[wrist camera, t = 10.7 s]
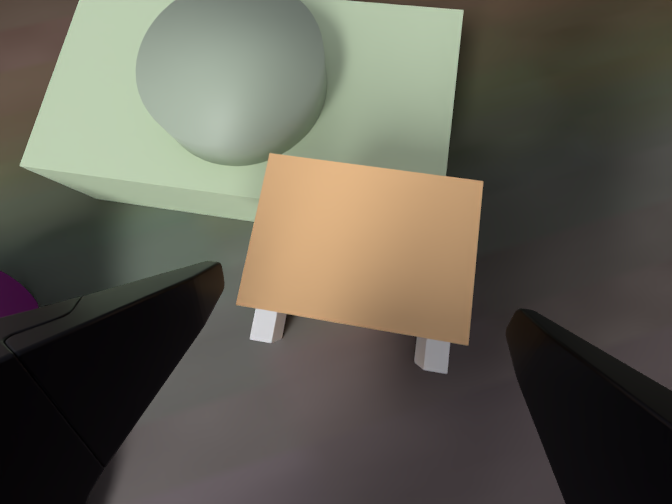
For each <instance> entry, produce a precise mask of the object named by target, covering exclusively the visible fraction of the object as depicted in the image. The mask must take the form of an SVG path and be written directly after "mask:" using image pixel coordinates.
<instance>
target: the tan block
mask: <svg viewBox="0 0 672 504" xmlns="http://www.w3.org/2000/svg"><path fill="white" fill-rule="evenodd" d="M482 191H483V181H478V180H471V179H463V178H455V177H448V176H440V175H433V174H425V173H418V172H410V171H402V170H395V169H387V168H380V167H372V166H364V165H357V164H349V163H342V162H334V161H326V160H319V159H311V158H304V157H296V156H288V155H281V154H273V153H269V158H268V162H267V167H266V171H265V176H264V180H263V185H262V189H261V194H260V198H259V203H258V207H257V212H256V216H255V221H254V225H253V230H252V234H251V239H250V243H249V248H248V252H247V257H246V261H245V266H244V270H243V275H242V279H241V284H240V288H239V293H238V297H237V302H236V305H239V306H245V307H251V308H256V309H262V310H268V311H273V312H279V313H285V314H291V315H296V316H302V317H308V318H313V319H319V320H325V321H330V322H336V323H342V324H348V325H353V326H359V327H365V328H370V329H376V330H382V331H387V332H393V333H399V334H405V335H410V336H416V337H422V338H427V339H433V340H439V341H444V342H450V343H456V344H462V345H467V346H468V344H469V333H470V322H471V311H472V300H473V289H474V278H475V267H476V257H477V246H478V235H479V224H480V213H481V202H482Z"/></svg>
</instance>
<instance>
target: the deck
mask: <svg viewBox="0 0 672 504" xmlns="http://www.w3.org/2000/svg"><path fill="white" fill-rule="evenodd" d="M463 11H464V10H456V9H444V8H432V7H419V6H407V5H395V4H383V3H370V2H358V1H346V0H79V3H78V5H77V8H76V11H75V14H74V16H73V19H72V22H71V25H70V28H69V30H68V33H67V36H66V39H65V41H64V44H63V47H62V50H61V52H60V55H59V58H58V61H57V64H56V66H55V69H54V72H53V75H52V77H51V80H50V83H49V86H48V89H47V91H46V94H45V97H44V100H43V102H42V105H41V108H40V111H39V114H38V116H37V119H36V122H35V125H34V127H33V130H32V133H31V136H30V138H29V141H28V144H27V147H26V150H25V152H24V155H23V158H22V161H21V163H20V166H21V167H23V168H26V169H28V170H30V171H33V172H35V173H37V174H40V175H42V176H44V177H47V178H49V179H51V180H53V181H56V182H58V183H60V184H63V185H65V186H67V187H70V188H72V189H74V190H77V191H79V192H81V193H84V194H86V195H88V196H91V197H93V198H95V199H100V200H107V201H114V202H121V203H128V204H135V205H142V206H149V207H156V208H163V209H170V210H177V211H184V212H191V213H197V214H204V215H211V216H218V217H225V218H232V219H239V220H246V221H253V222H254V221H255V216H256V212H257V207H258V203H259V198H260V194H261V189H262V185H263V180H264V176H265V171H266V167H267V162H268V158H269V153H273V154H281V155H288V156H296V157H304V158H311V159H319V160H326V161H334V162H342V163H349V164H357V165H364V166H372V167H380V168H387V169H395V170H402V171H410V172H418V173H425V174H433V175H440V176H446V170H447V161H448V152H449V142H450V133H451V124H452V114H453V105H454V95H455V86H456V77H457V67H458V58H459V48H460V39H461V30H462V20H463ZM285 320H286V314H285V313H279V312H273V311H268V310H262V309H256V310H255V315H254V320H253V325H252V330H251V335H250V339H251V340H257V341H263V342H268V343H273V342H275V341H278V340H280V339H282V336H283V330H284V325H285ZM449 350H450V342H444V341H439V340H433V339H427V338H422V337H417V340H416V349H415V358H414V362H415V363H416V364H417V365H418V366H419V367H420V368H422V369H423V370H427V371H432V372H438V373H444V374H447V371H448V361H449Z"/></svg>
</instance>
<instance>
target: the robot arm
mask: <svg viewBox="0 0 672 504" xmlns="http://www.w3.org/2000/svg"><path fill="white" fill-rule="evenodd" d="M223 289H224V277H223V271H222V266H221V264H220V263H219V262H214V261H205V262H201V263H198V264H194V265H191V266H187V267H184V268H180V269H177V270H173V271H170V272H166V273H163V274H159V275H156V276H152V277H149V278H145V279H142V280H138V281H134V282H131V283H127V284H124V285H120V286H117V287H113V288H110V289H106V290H103V291H99V292H96V293H92V294H89V295H85V296H83V297H82V298H81V297H77V298H73V299H70V300H66V301H63V302H59V303H55V304H52V305H48V306H44V307H41V308H37V309H33V310H29V311H25V312H21V313H17V314H13V315H9V316H5V317H1V318H0V504H86V502H87V500H88V497H89V495H90V493H91V490H92V488H93V487H94V485H95V483H96V481H97V479H98V478H99V476H100V475H101V473H102V472H103V470H104V467H106V466H107V464H108V463H109V462H110V460H111V459H112V457H113V456H114V454H115V453H116V452H117V450H118V449H119V447H120V446H121V444H122V443H123V442H124V440H125V439H126V437H127V436H128V434H129V433H130V432H131V430H132V429H133V427H134V426H135V424H136V423H137V422H138V420H139V419H140V417H141V416H142V414H143V413H144V412H145V410H146V409H147V407H148V406H149V404H150V403H151V401H152V400H153V399H154V397H155V396H156V394H157V393H158V391H159V390H160V389H161V387H162V386H163V384H164V383H165V381H166V380H167V379H168V377H169V376H170V374H171V373H172V371H173V370H174V369H175V367H176V366H177V364H178V363H179V361H180V360H181V359H182V357H183V356H184V354H185V353H186V351H187V350H188V349H189V347H190V346H191V344H192V343H193V341H194V340H195V339H196V337H197V336H198V334H199V333H200V331H201V330H202V328H203V327H204V325H205V324H206V322H207V320H208V318H209V316H210V314H211V313H212V311H213V309H214V307H215V305H216V303H217V301H218V299H219V298H220V296H221V294H222V292H223ZM506 339H507V343H508V347H509V350H510V354H511V358H512V362H513V366H514V370H515V373H516V377H517V380H518V383H519V385H520V388H521V391H522V393H523V396H524V398H525V401H526V403H527V406H528V409H529V411H530V414H531V416H532V419H533V421H534V424H535V427H536V429H537V432H538V434H539V437H540V439H541V442H542V444H543V447H544V450H545V452H546V455H547V457H548V460H549V462H550V465H551V467H552V470H553V473H554V475H555V478H556V480H557V483H558V485H559V488H560V491H561V493H562V496H563V498H564V501H565V503H566V504H672V391H671V390H669V389H667V388H666V387H664V386H662V385H661V384H659V383H657V382H655V381H654V380H652V379H650V378H649V377H647V376H645V375H643V374H642V373H640V372H638V371H637V370H635V369H633V368H631V367H630V366H628V365H626V364H625V363H623V362H621V361H619V360H618V359H616V358H614V357H613V356H611V355H609V354H607V353H606V352H604V351H602V350H601V349H599V348H597V347H595V346H594V345H592V344H590V343H589V342H587V341H585V340H583V339H582V338H580V337H578V336H577V335H575V334H573V333H571V332H570V331H568V330H566V329H565V328H563V327H561V326H559V325H558V324H556V323H554V322H553V321H551V320H549V319H547V318H546V317H544V316H542V315H541V314H539V313H537V312H535V311H533V310H528V309H522V308H520V309H517V310H516V312H515V313H514V315H513V317H512V319H511V321H510V322H509V324H508V326H507V328H506Z"/></svg>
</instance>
